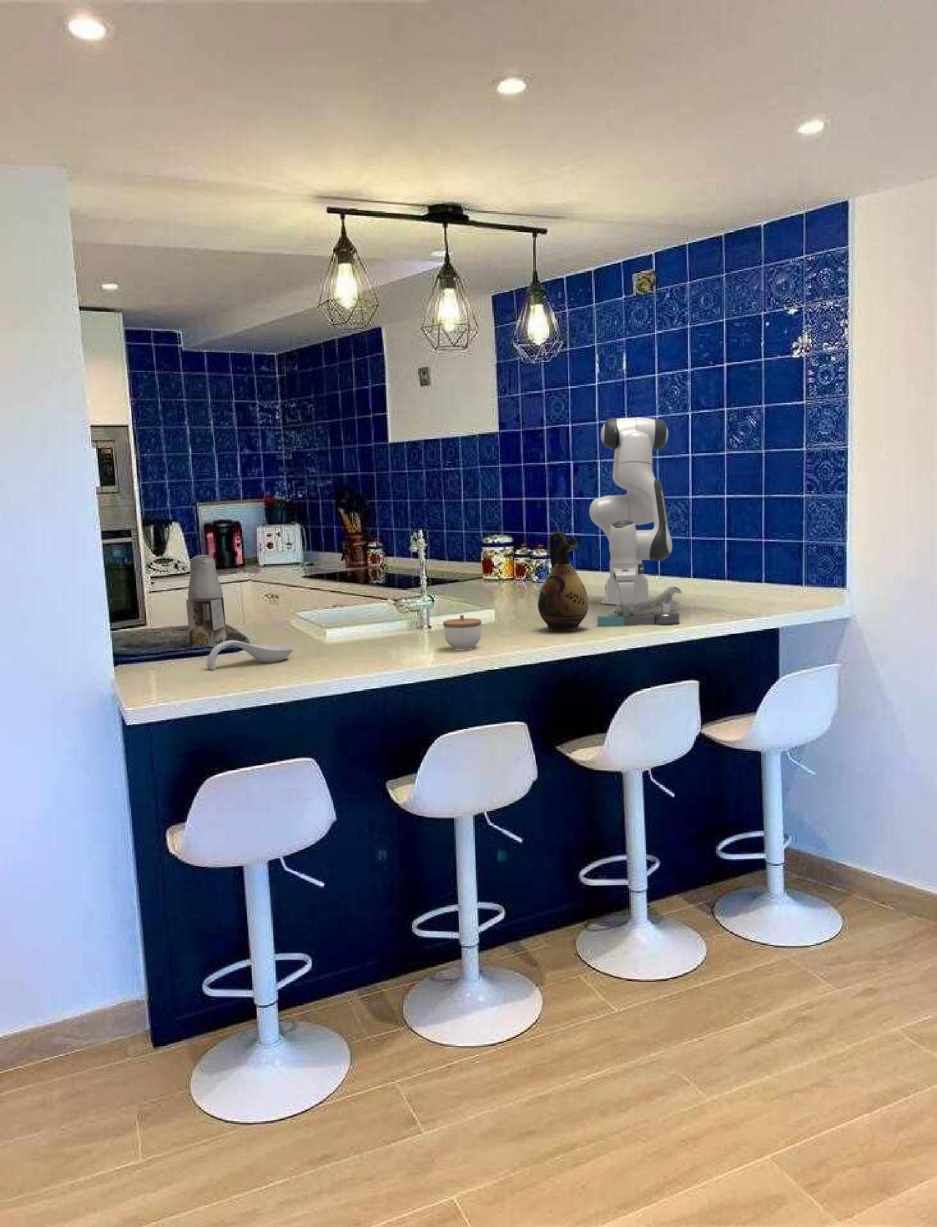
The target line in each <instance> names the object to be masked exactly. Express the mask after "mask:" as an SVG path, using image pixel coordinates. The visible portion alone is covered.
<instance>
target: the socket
mask: <svg viewBox="0 0 937 1227" xmlns="http://www.w3.org/2000/svg"><path fill="white" fill-rule="evenodd" d="M615 609H617V615H623V607H622V605H621V604H620V605H616V607H615ZM629 616H635V614H634V611H633V604H632V605H629Z"/></svg>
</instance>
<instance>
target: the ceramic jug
mask: <svg viewBox="0 0 937 1227" xmlns="http://www.w3.org/2000/svg"><path fill="white" fill-rule="evenodd" d="M558 542H559V543H558ZM557 544H558V546H557ZM548 545H549V547H548V549H549V555H550V556H549V557H550V562H551V570H550V571H549V573H548V575H547V576H546V577H545V580H544V582H543V584H542V586H541V588H540V591H539V593H538V598H537V599H538V601H537V609H538V613H539V616H540V617H541V619H542V621H544V623H545V624H546V625H547V631H550V632H553V633H557V632H558V633H561V632H563V633H566V632H567V633H569V632H573V631H577V630H579V629H578V628H579V626H580V624H581V623H582V621H583V620H584V619H585V617H586V616H587V614H588V610H589V599H588V595H587V594H588V593H587V590H586V587H585V585H584V583H583V581H582V579H581V578H580V576H579V574H578V573H577V571H576V570H575V568H574V567H573V565H572V563H571V562H570V558H569V553H570V552H572V551H574V550H576V549H577V548H579V543H578V540H577V539H576V538H575V537H571V538H570V539H568V538H567V535H566V533H564V532H562V531H555V532H554V533H552V534H551V536H550V537H549V542H548Z"/></svg>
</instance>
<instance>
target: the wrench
mask: <svg viewBox="0 0 937 1227" xmlns="http://www.w3.org/2000/svg"><path fill="white" fill-rule="evenodd" d="M675 594H682V590H681V589H680V588H679V587H677V586H668V587H667V588H666V589H665V590H664V591H663V592H662V593H660V594H659V595H658V596H656V597H655V598H653V599H652V600H648V601H644V602H641V603H637V604H632V605H633V611H634V615H636V614H638V613H642V612H645V611H648V610H652V609H655V608H661V609H662V604H670V610H672V609H674V608H676V607H678V606H679V604H680V602H679V601H674V600H673V596H674V595H675ZM613 613H614V615H617V609H616V608H615V609H612V610H610V611H608V613H607V616H609V615H613Z"/></svg>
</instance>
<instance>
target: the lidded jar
mask: <svg viewBox="0 0 937 1227" xmlns="http://www.w3.org/2000/svg"><path fill="white" fill-rule="evenodd" d="M442 624H443V625H442V626H443V633H444V637H445V638H444V639H445V641H446V643H447V644H448V645H449V646H450V647H451V648H452V649H453V648H454V649H469V650H471V649H470V648H473V649H475V647H476V646H477V644H478V643H479V641H480V639H481V637H482V636H481V635H482V620H481V619H479V618H469V617H467V618H466V617H464V614H461V615H459V618H452V619H447V620H444V621H443V622H442ZM454 649H453V650H454Z"/></svg>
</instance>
